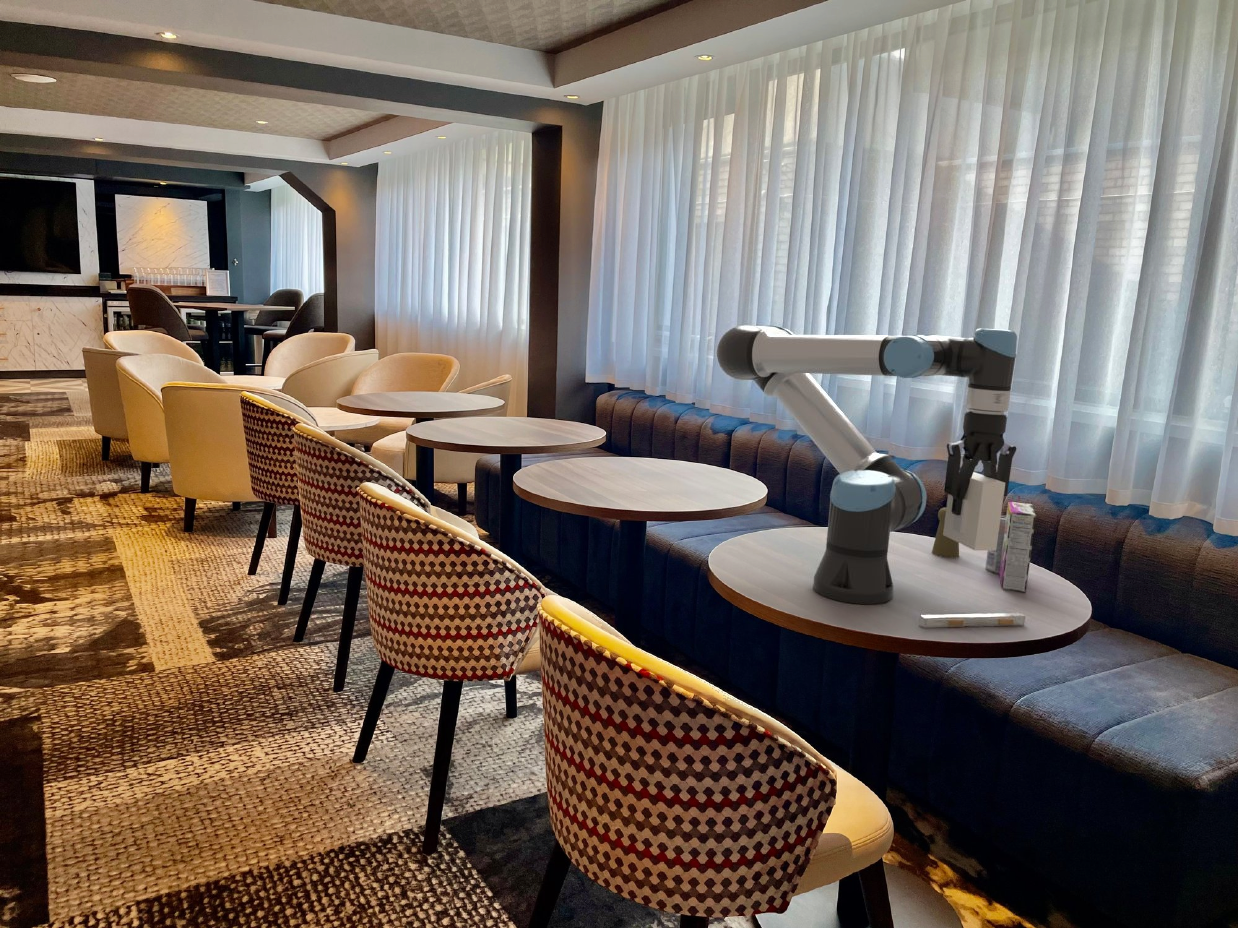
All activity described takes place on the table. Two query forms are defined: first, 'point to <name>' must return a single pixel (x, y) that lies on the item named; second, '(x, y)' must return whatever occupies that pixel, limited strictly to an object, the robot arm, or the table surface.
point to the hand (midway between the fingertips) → (970, 531)
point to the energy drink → (995, 555)
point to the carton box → (978, 514)
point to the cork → (944, 540)
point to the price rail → (972, 620)
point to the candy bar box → (1017, 546)
